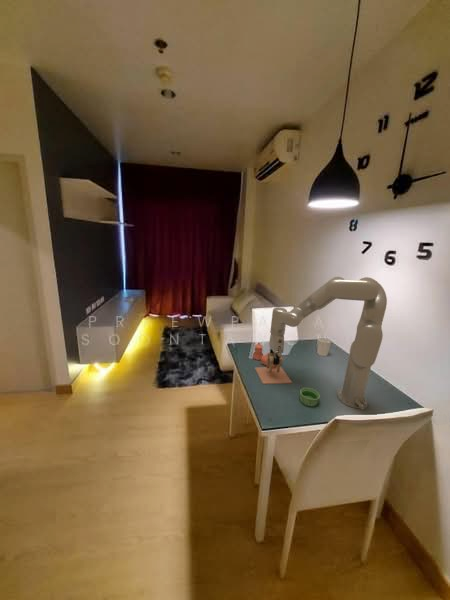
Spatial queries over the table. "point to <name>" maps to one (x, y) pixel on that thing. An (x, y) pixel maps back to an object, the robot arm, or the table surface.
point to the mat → (272, 376)
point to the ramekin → (309, 396)
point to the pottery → (261, 355)
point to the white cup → (323, 346)
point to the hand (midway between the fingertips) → (273, 360)
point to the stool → (270, 362)
